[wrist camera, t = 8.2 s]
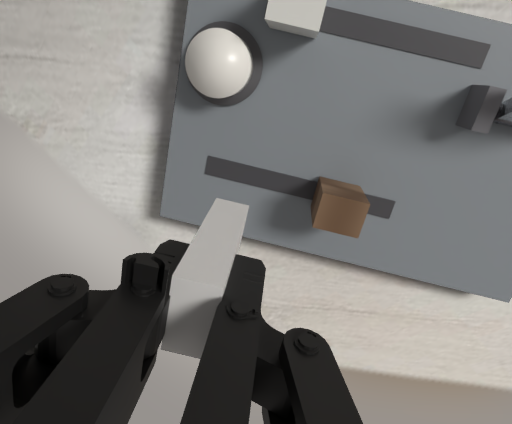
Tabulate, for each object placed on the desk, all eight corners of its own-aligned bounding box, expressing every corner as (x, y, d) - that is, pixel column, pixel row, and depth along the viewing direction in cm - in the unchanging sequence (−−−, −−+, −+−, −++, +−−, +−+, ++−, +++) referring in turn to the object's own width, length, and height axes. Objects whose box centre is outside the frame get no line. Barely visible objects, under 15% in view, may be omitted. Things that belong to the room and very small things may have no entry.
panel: (169, 205, 31) (147, 227, 27) (204, -38, 25) (183, -63, 20) (492, 285, 31) (526, 321, 26) (615, 57, 24) (688, 53, 20)
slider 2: (310, 206, 27) (312, 227, 24) (319, 176, 26) (323, 192, 23) (349, 216, 27) (358, 238, 23) (360, 186, 26) (370, 204, 23)
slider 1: (269, 27, 23) (264, 18, 20) (278, -15, 23) (274, -33, 19) (315, 38, 23) (319, 31, 20) (326, -4, 22) (331, -20, 19)
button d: (189, 89, 25) (180, 90, 23) (198, 25, 24) (190, 20, 22) (246, 102, 25) (242, 104, 23) (259, 39, 24) (255, 36, 22)
